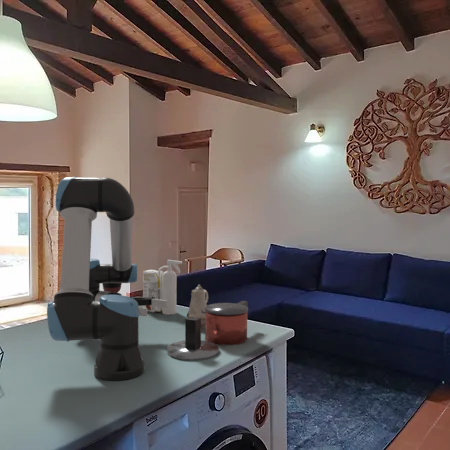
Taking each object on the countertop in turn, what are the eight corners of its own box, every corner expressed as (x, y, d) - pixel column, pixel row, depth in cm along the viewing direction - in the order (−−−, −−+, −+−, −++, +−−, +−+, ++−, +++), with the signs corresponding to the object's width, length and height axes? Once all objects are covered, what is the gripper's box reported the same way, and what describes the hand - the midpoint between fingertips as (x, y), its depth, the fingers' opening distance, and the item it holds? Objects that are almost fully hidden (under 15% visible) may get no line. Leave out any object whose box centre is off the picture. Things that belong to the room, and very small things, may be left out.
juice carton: (154, 313, 220) (154, 272, 219) (140, 310, 225) (140, 270, 224) (165, 310, 227) (165, 270, 226) (151, 307, 231) (151, 268, 230)
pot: (237, 347, 171) (237, 315, 170) (196, 341, 178) (197, 309, 177) (263, 329, 195) (263, 300, 194) (226, 324, 202) (226, 296, 201)
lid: (203, 364, 155) (204, 328, 154) (157, 356, 162) (157, 321, 162) (227, 348, 171) (227, 315, 170) (183, 341, 179) (183, 310, 178)
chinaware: (205, 336, 190) (209, 296, 189) (170, 327, 197) (174, 288, 196) (234, 320, 216) (238, 284, 214) (201, 312, 223) (205, 277, 221)
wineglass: (100, 319, 208) (100, 274, 207) (120, 317, 212) (120, 273, 210) (103, 324, 201) (103, 277, 200) (124, 322, 204) (124, 275, 203)
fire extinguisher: (155, 310, 225) (156, 258, 223) (180, 311, 225) (182, 259, 223) (153, 314, 218) (154, 260, 216) (179, 315, 218) (181, 261, 216)
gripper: (129, 304, 194) (174, 310, 185) (88, 319, 171) (137, 326, 163) (129, 286, 193) (174, 291, 185) (87, 298, 171) (137, 305, 162)
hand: (157, 308), depth 174 cm, fingers open, 13 cm apart
